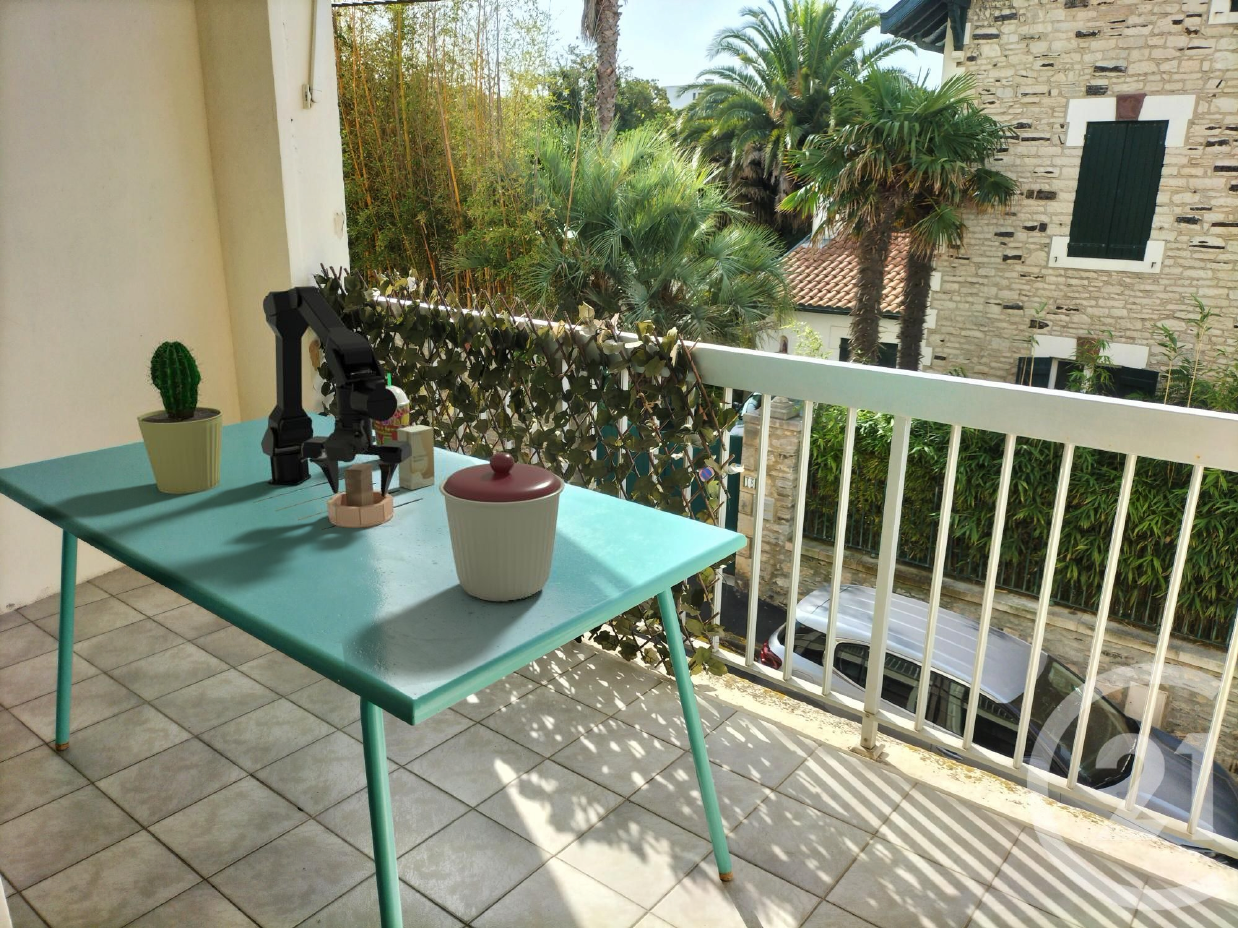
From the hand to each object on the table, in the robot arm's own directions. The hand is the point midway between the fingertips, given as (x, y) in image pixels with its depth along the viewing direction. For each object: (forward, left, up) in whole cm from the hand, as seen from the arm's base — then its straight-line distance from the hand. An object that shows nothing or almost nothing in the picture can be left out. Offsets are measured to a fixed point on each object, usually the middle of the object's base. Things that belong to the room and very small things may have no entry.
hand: (359, 494), depth 157 cm
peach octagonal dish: (0, 0, -4) cm, 4 cm away
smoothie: (-9, +38, -5) cm, 39 cm away
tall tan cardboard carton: (0, 0, -4) cm, 4 cm away
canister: (+34, -26, -5) cm, 43 cm away
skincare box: (+3, +21, -5) cm, 22 cm away
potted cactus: (-42, +12, -5) cm, 44 cm away
